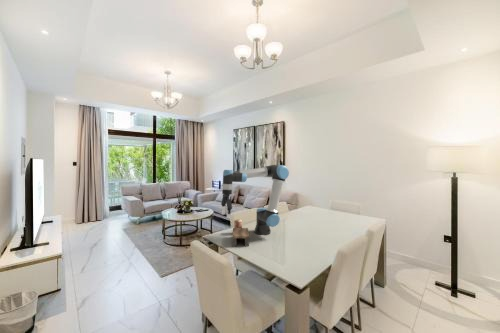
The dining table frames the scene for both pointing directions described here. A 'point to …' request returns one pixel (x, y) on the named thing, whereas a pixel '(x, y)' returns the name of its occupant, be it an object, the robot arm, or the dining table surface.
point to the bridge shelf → (241, 235)
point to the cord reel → (237, 223)
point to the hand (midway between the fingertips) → (225, 216)
